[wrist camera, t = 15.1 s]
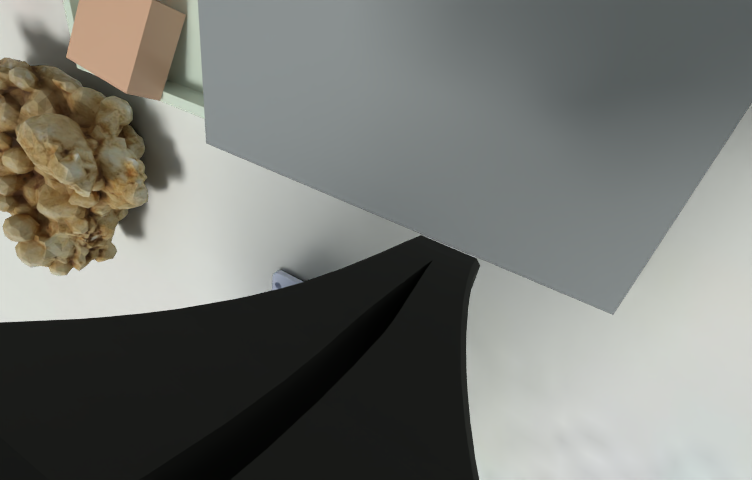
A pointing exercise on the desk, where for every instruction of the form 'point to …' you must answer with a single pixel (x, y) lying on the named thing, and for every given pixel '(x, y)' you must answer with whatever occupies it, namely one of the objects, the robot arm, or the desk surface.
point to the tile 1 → (126, 43)
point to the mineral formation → (64, 167)
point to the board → (489, 117)
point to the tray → (175, 59)
